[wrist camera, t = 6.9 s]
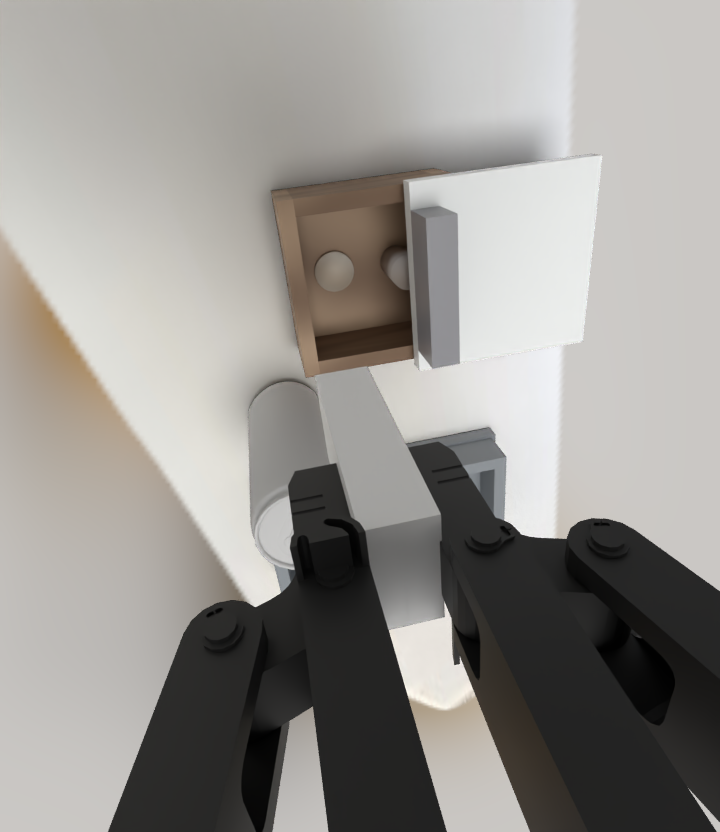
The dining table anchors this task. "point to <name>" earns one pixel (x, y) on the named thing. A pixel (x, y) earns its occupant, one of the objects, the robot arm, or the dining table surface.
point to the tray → (348, 270)
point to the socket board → (479, 463)
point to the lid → (500, 258)
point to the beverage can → (281, 461)
